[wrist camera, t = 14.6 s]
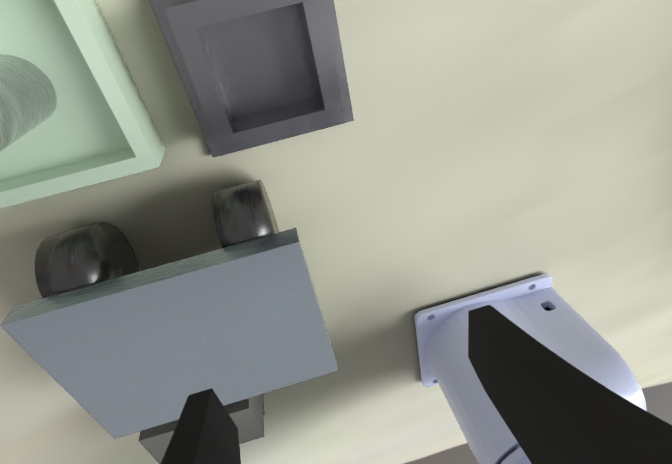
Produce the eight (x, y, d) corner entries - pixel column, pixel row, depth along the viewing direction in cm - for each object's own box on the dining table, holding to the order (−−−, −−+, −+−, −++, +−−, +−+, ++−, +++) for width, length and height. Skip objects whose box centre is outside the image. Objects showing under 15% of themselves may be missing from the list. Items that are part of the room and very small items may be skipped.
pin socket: (322, -54, 14) (336, -60, 12) (352, 118, 18) (365, 135, 16) (145, -14, 14) (130, -13, 12) (213, 154, 17) (210, 176, 15)
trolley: (278, 159, 18) (290, 212, 14) (325, 316, 24) (343, 385, 20) (37, 223, 17) (-26, 299, 13) (148, 368, 23) (128, 452, 19)
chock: (241, 338, 24) (242, 396, 21) (262, 382, 26) (265, 439, 23) (143, 366, 23) (128, 429, 20) (174, 408, 26) (164, 470, 23)
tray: (72, -47, 13) (50, -51, 11) (166, 150, 17) (159, 167, 15) (-183, 10, 12) (-242, 14, 11) (-24, 199, 16) (-51, 222, 15)
